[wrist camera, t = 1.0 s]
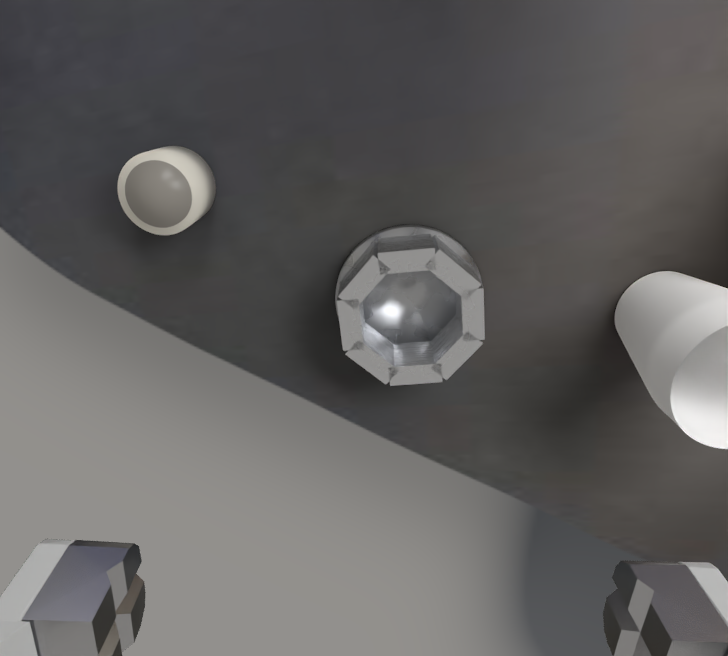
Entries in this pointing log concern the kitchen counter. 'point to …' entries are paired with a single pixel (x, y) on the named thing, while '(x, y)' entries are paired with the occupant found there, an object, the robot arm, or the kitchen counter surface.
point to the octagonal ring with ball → (410, 305)
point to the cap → (166, 189)
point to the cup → (680, 349)
